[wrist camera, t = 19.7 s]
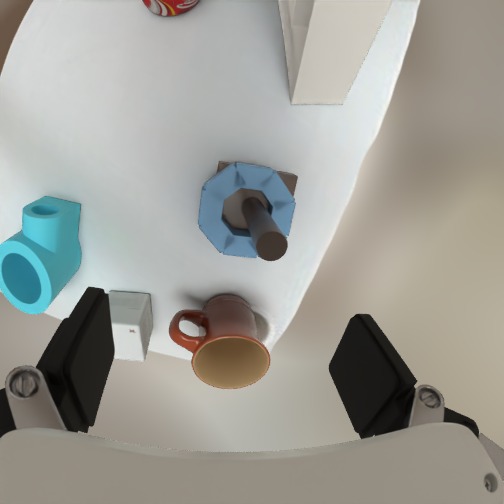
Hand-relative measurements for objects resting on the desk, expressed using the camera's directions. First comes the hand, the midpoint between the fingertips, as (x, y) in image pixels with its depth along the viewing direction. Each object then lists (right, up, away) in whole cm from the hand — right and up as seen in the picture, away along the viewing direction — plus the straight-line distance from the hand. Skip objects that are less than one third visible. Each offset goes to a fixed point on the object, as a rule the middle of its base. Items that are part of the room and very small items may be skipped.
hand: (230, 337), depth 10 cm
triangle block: (+4, +28, +9) cm, 29 cm away
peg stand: (+1, +9, +23) cm, 25 cm away
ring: (0, +8, +22) cm, 23 cm away
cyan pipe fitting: (-26, +5, +22) cm, 34 cm away
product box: (-16, -5, +27) cm, 32 cm away
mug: (-4, -5, +29) cm, 29 cm away
